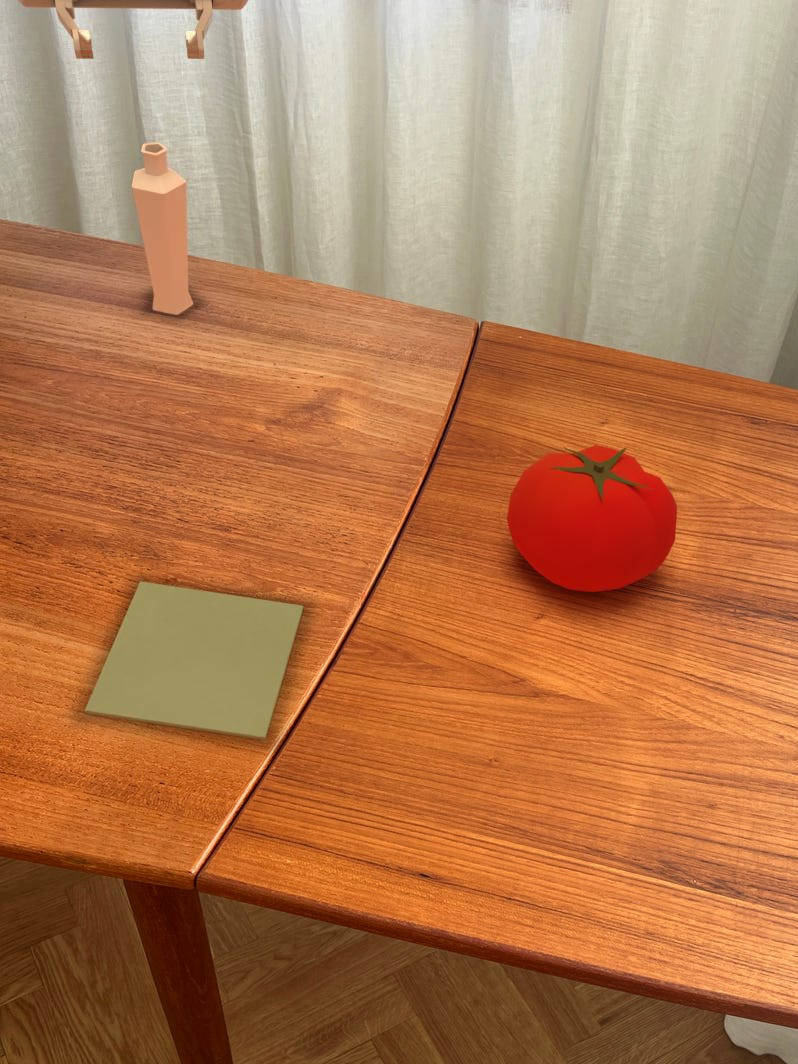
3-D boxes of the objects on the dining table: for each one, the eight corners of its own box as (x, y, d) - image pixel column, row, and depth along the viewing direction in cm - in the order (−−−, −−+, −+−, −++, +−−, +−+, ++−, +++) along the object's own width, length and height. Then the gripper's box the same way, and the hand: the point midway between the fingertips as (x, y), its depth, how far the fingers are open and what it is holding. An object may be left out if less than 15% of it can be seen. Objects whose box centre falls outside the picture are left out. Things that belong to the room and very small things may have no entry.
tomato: (662, 629, 86) (694, 530, 79) (494, 605, 86) (510, 504, 78) (660, 527, 94) (690, 428, 86) (506, 506, 93) (522, 404, 86)
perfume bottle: (135, 301, 107) (113, 143, 96) (177, 287, 109) (160, 131, 98) (162, 325, 105) (142, 167, 94) (204, 310, 107) (189, 154, 96)
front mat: (85, 715, 76) (84, 710, 75) (140, 586, 84) (139, 580, 83) (265, 742, 76) (265, 737, 75) (303, 610, 84) (303, 605, 83)
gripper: (-14, -137, 94) (8, 39, 95) (241, -127, 98) (258, 41, 100) (-1, -94, 100) (20, 71, 101) (238, -87, 104) (255, 71, 106)
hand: (140, 56), depth 100 cm, fingers open, 8 cm apart
